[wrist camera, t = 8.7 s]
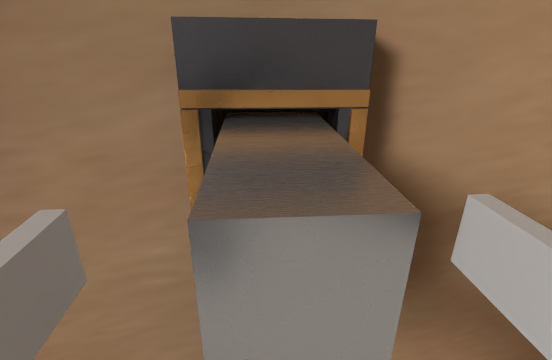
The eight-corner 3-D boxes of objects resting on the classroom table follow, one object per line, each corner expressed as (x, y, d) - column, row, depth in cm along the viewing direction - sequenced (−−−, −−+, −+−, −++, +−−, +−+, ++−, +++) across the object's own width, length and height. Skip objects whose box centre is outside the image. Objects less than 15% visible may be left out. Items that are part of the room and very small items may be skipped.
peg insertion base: (218, 391, 26) (215, 427, 24) (182, 21, 16) (169, 15, 13) (323, 384, 27) (331, 418, 25) (358, 23, 16) (379, 19, 14)
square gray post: (231, 193, 19) (206, 383, 8) (227, 112, 17) (187, 220, 6) (310, 191, 20) (388, 370, 9) (315, 111, 18) (421, 212, 7)
